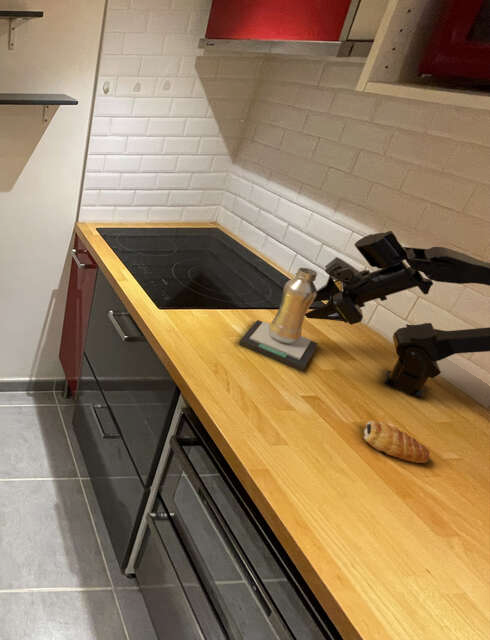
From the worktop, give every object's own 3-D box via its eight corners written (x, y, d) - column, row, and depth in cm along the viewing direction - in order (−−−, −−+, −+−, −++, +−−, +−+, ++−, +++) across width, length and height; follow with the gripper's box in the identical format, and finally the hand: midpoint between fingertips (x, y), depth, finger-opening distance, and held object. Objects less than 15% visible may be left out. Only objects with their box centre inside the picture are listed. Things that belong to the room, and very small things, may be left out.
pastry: (423, 449, 87) (432, 435, 85) (428, 473, 82) (438, 459, 81) (361, 425, 92) (369, 411, 91) (363, 446, 87) (370, 432, 86)
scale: (256, 323, 125) (258, 317, 124) (316, 347, 116) (319, 341, 115) (238, 344, 116) (240, 338, 115) (302, 371, 107) (305, 365, 106)
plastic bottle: (297, 350, 111) (326, 280, 103) (266, 340, 115) (291, 272, 106) (297, 337, 116) (324, 269, 108) (266, 328, 120) (290, 262, 111)
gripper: (357, 239, 107) (287, 266, 118) (363, 268, 93) (283, 296, 104) (387, 277, 106) (314, 302, 116) (397, 312, 92) (313, 336, 103)
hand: (306, 307), depth 110 cm, fingers open, 9 cm apart
